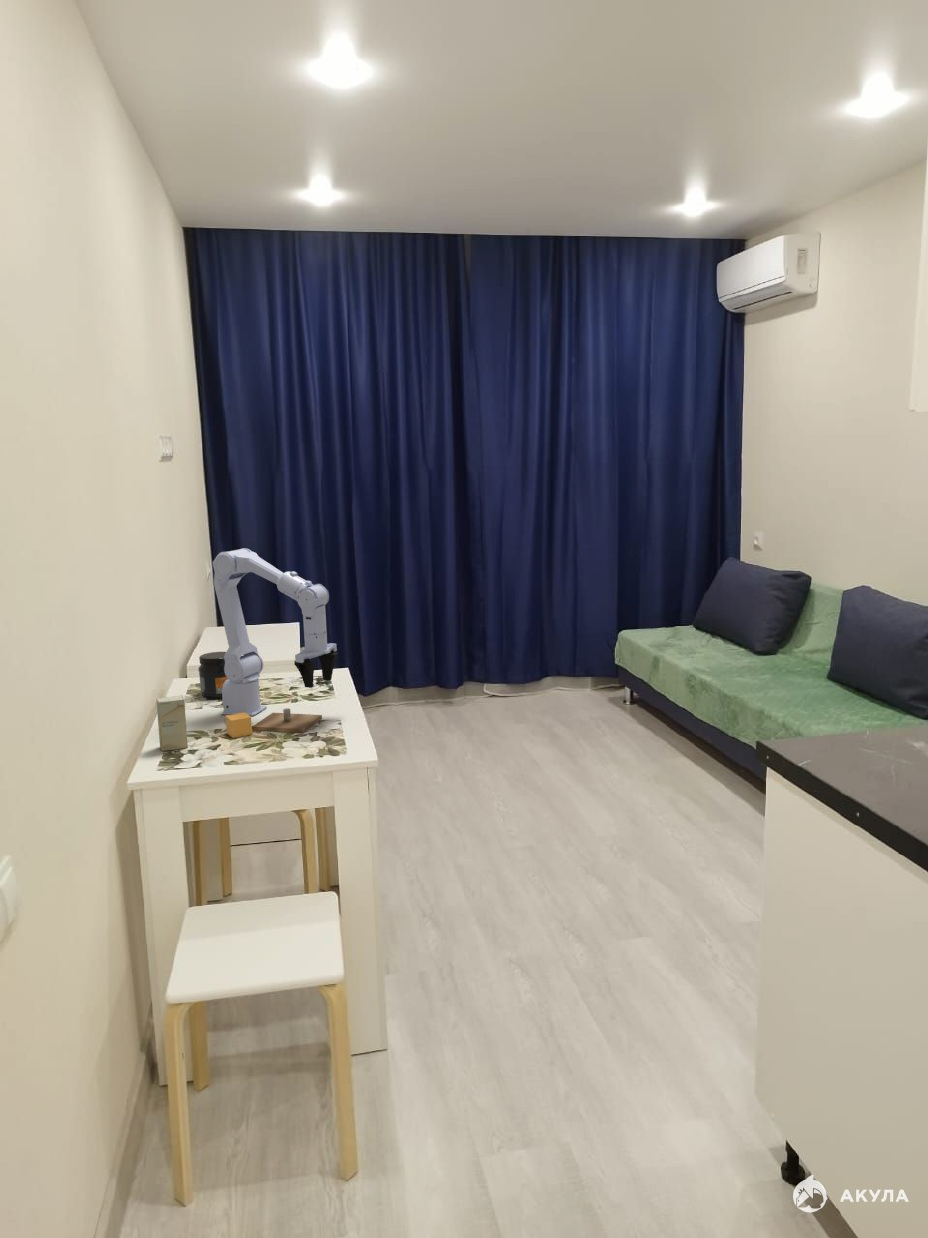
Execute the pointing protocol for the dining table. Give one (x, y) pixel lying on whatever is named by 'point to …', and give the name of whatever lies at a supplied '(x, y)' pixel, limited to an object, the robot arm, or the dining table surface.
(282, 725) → the brown flat block
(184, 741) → the skincare box
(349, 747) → the dining table surface
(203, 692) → the supplement container
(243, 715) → the mustard tilted cube
